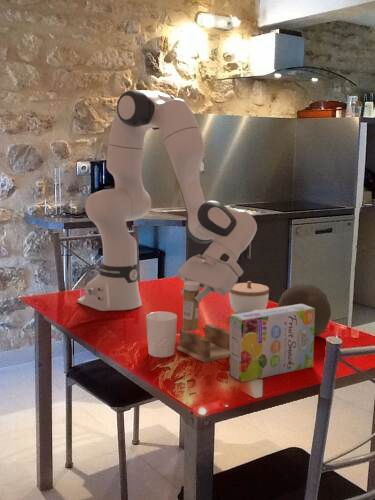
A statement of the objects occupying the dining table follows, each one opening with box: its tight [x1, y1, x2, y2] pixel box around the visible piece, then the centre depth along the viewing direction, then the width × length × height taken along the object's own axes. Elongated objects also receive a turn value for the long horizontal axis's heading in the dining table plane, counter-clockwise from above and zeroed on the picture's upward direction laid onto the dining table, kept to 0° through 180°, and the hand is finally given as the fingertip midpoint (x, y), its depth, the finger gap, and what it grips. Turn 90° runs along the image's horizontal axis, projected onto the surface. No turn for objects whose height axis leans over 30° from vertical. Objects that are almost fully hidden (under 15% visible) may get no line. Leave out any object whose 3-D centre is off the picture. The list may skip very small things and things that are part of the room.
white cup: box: [145, 311, 178, 358], centre depth 149 cm, size 8×8×10 cm
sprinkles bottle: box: [182, 281, 201, 332], centre depth 162 cm, size 5×5×14 cm
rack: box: [176, 323, 230, 363], centre depth 151 cm, size 12×11×5 cm
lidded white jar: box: [228, 280, 270, 314], centre depth 183 cm, size 13×13×11 cm
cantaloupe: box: [277, 284, 332, 338], centre depth 162 cm, size 14×14×15 cm
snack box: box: [228, 304, 315, 383], centre depth 137 cm, size 21×6×15 cm, turn 118°
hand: (189, 297), depth 161 cm, fingers closed on sprinkles bottle, 4 cm apart
